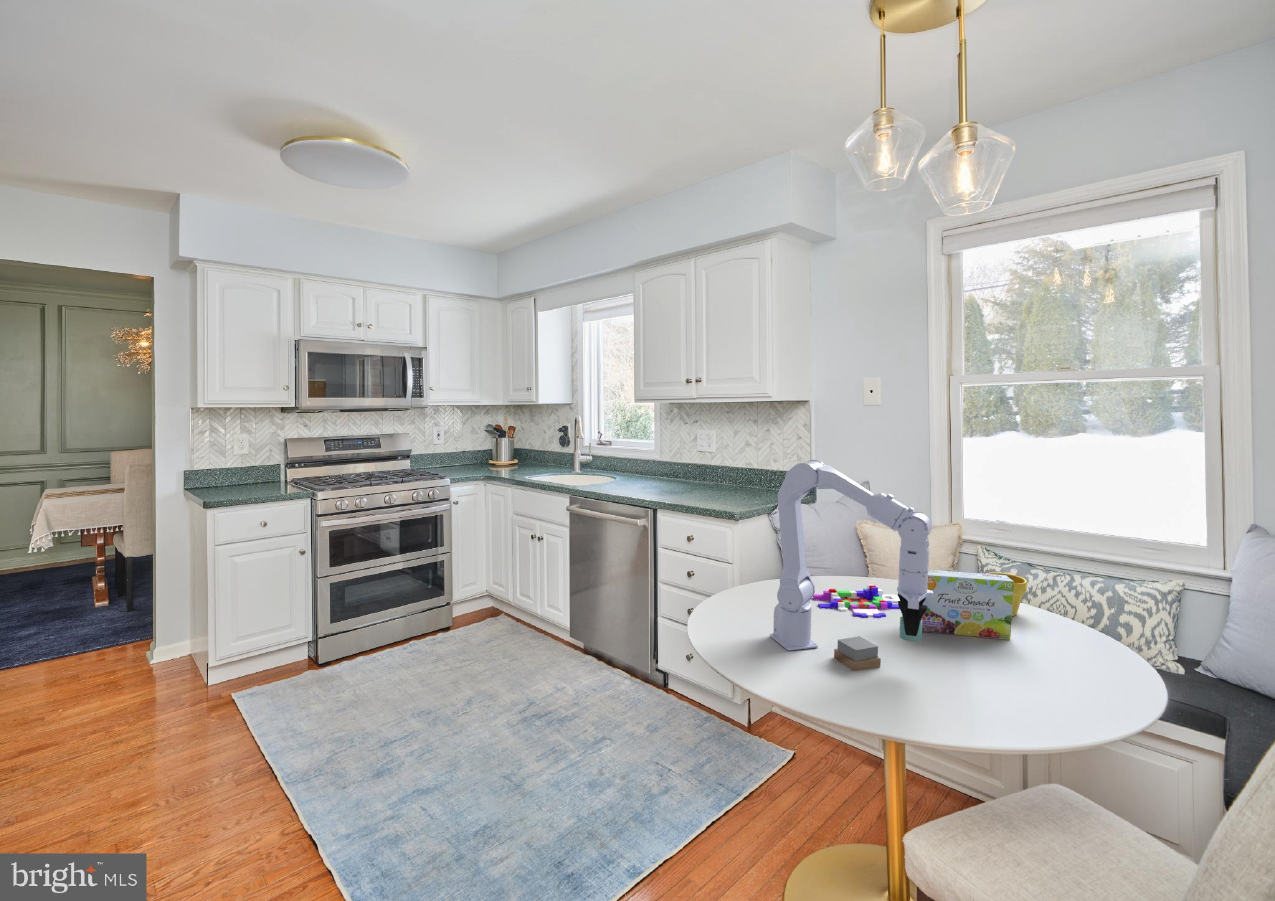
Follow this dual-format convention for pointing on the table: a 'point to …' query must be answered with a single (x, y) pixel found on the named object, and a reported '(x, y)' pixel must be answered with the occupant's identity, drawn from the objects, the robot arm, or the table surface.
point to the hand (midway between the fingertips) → (910, 630)
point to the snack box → (969, 604)
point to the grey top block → (857, 648)
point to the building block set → (870, 593)
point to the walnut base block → (857, 662)
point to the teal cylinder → (908, 637)
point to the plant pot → (1016, 590)
